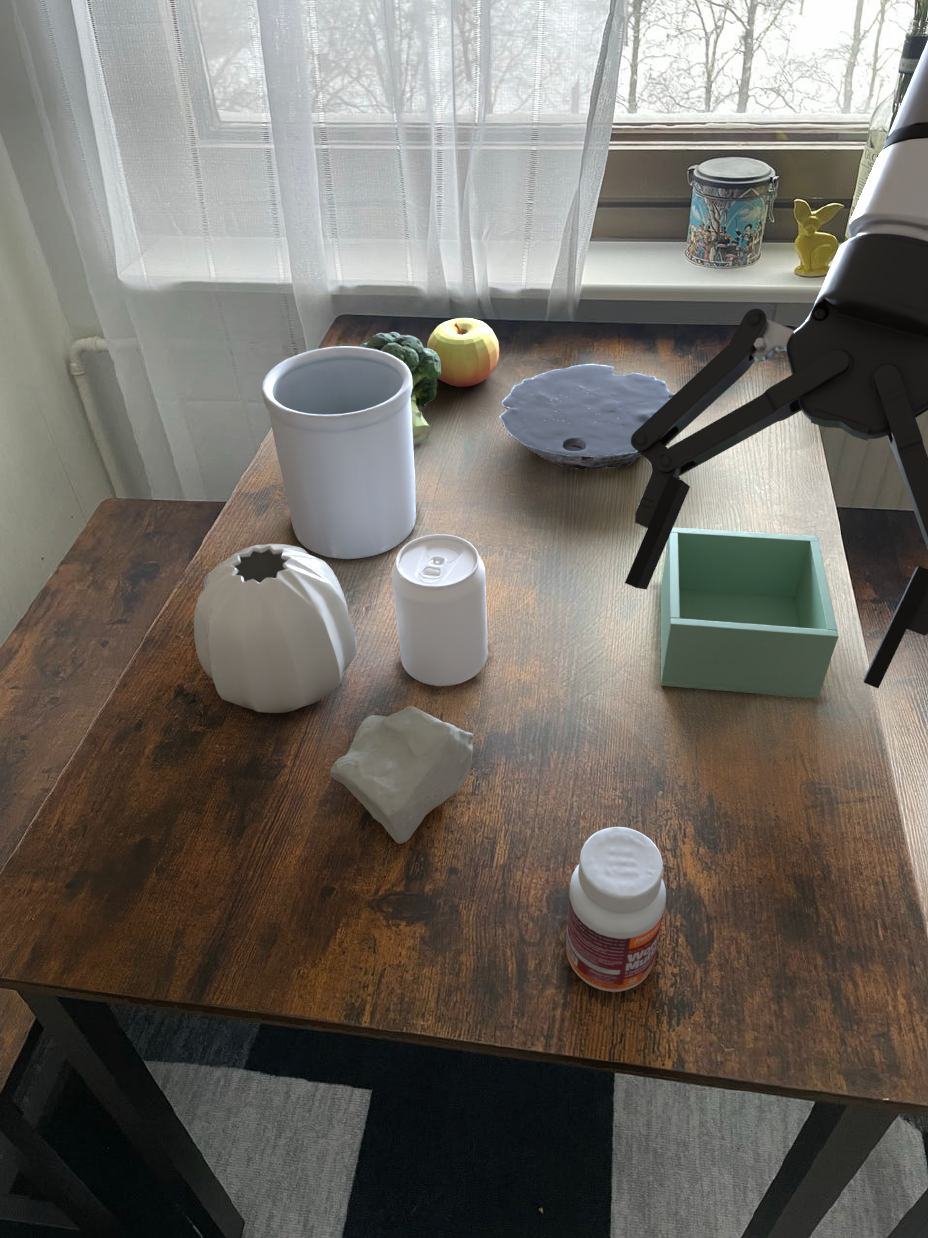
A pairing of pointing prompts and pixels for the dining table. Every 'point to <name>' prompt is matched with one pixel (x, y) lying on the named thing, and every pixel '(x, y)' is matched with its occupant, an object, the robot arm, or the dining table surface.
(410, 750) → the decorative stone
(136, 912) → the dining table surface
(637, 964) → the pill bottle
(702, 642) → the bin
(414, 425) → the vegetable
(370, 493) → the utensil holder
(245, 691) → the vase
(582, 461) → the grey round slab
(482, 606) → the beverage can
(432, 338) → the apple
